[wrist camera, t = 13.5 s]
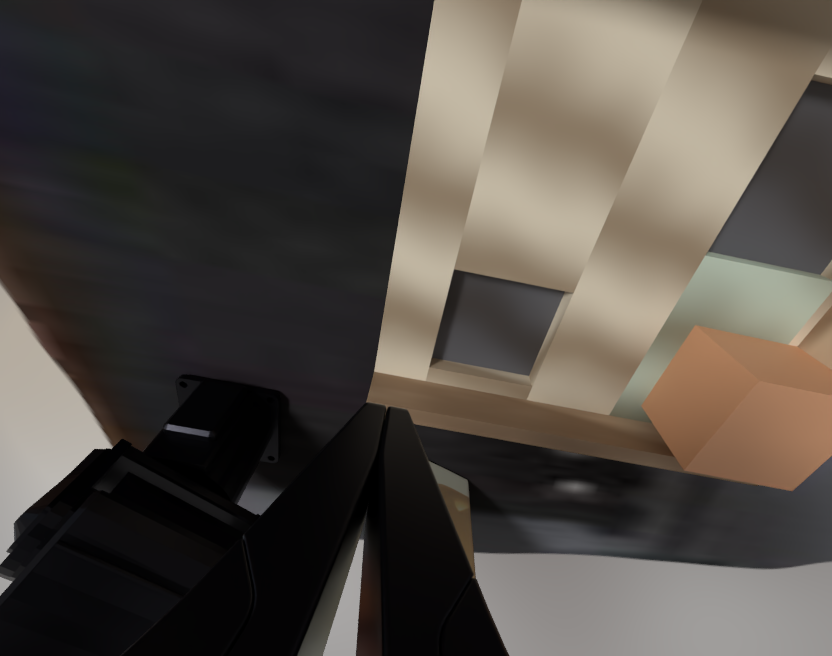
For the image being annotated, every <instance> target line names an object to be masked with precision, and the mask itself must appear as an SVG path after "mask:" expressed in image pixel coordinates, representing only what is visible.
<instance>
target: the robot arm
mask: <svg viewBox="0 0 832 656" xmlns="http://www.w3.org/2000/svg"><path fill="white" fill-rule="evenodd" d="M176 389H177V395H178V400H179V406H180V407H179V408H178V409H177V410H176V411H175V412H174V414H173V415H172V416H171V417H170V418H169V419H168V420H167V422H166V423H165V424H164V426H163V429H162V430H161V431H160V432H159V433H158V435H157V436H156V437H155V438H154V439H153V440H152V442H151V443H150V444H149V445H148V446H147V447H146V448H145V450H144V451H143V452H142V451H140V450H138V449H136V448H134V447H133V446H131V445H132V444H131V443H129V442H128V441H126V440H124V439H121V440H120V441H119V442H118V443H117V444H116V445H115V446H114V447H113V448H112V449H94V450H93V451H92V452H91V453H90V454H89V455H88V456H87V457H86V458H85V459H84V460H83V461H82V462H81V463H80V464H79V465H78V466H77V467H76V468H75V469H74V470H73V471H72V472H71V473H69V474H68V475H67V476H66V477H65V478H64V479H63V480H62V481H61V482H59V483H58V484H57V485H56V486H55V487H53V488H52V489H51V490H50V491H49V492H47V493H46V494H45V495H44V496H43V497H42V498H40V499H39V500H38V501H37V502H36V503H34V504H33V505H32V506H31V507H30V508H28V509H27V510H26V511H25V512H24V513H23V514H22V515H21V516H20V517H19V518H18V519H17V520H16V521H15V523H14V540H15V541H14V543H13V544H12V545H11V546H10V547H9V549H8V550H7V552H8V553H10V554H9V556H8V557H7V558H6V559H5V560H4V561H3V562H2V564H1V565H0V577H2V578H5V579H8V580H10V581H13V582H12V583H11V584H10V586H9V587H8V588H7V589H6V590H5V591H4V592H3V593H2V595H1V596H0V656H323V652H324V649H325V646H326V643H327V640H328V636H329V633H330V630H331V627H332V623H333V620H334V617H335V614H336V611H337V608H338V605H339V601H340V598H341V595H342V591H343V589H344V585H345V582H346V579H347V576H348V572H349V569H350V566H351V563H352V560H353V557H354V554H355V550H356V547H357V544H358V541H359V538H360V534H361V531H362V528H363V524H364V521H365V516H366V512H367V516H366V524H365V534H364V549H363V563H362V578H361V593H360V605H359V619H358V633H357V648H356V656H509V654H508V652H507V650H506V648H505V646H504V644H503V641H502V639H501V637H500V634H499V632H498V630H497V627H496V625H495V623H494V621H493V618H492V616H491V614H490V611H489V609H488V607H487V604H486V602H485V599H484V597H483V594H482V592H481V589H480V587H479V584H478V582H477V580H476V579H475V578H473V576H474V572H473V570H472V567H471V565H470V563H469V560H468V558H467V555H466V553H465V550H464V548H463V545H462V543H461V540H460V538H459V535H458V533H457V530H456V528H455V525H454V523H453V520H452V518H451V515H450V513H449V510H448V508H447V505H446V503H445V500H444V498H443V495H442V493H441V490H440V488H439V485H438V483H437V480H436V478H435V476H434V473H433V471H432V468H431V466H430V463H429V461H428V458H427V456H426V453H425V451H424V448H423V446H422V443H421V441H420V438H419V436H418V433H417V431H416V428H415V426H414V423H413V421H412V418H411V416H410V413H409V411H408V410H407V409H404V408H399V407H393V406H389V407H388V408H387V410H386V406H385V405H382V404H377V403H372V402H367V403H365V404H364V405H363V406H362V407H361V408H360V409H359V410H358V411H357V413H356V414H355V415H354V416H353V417H352V418H351V419H350V420H349V421H348V422H347V423H346V424H345V425H344V427H343V428H342V429H341V430H340V431H339V432H338V433H337V434H336V435H335V436H334V437H333V438H332V439H331V441H330V442H329V443H328V444H327V445H326V446H325V447H324V448H323V449H322V450H321V451H320V452H319V453H318V455H317V456H316V457H315V458H314V459H313V460H312V461H311V462H310V463H309V464H308V465H307V466H306V468H305V469H304V470H303V471H302V472H301V473H300V474H299V475H298V476H297V477H296V478H295V479H294V480H293V482H292V483H291V484H290V485H289V486H288V487H287V488H286V489H285V490H284V491H283V492H282V493H281V494H280V496H279V497H278V498H277V499H276V500H275V501H274V502H273V503H272V504H271V505H270V506H269V507H268V508H267V510H266V511H265V512H264V513H263V514H262V515H261V516H260V515H259V514H257V515H255V514H253V513H251V512H250V511H248V510H246V509H244V508H242V507H241V506H239V505H237V504H238V502H239V500H240V498H241V496H242V494H243V492H244V490H245V488H246V486H247V484H248V482H249V480H250V478H251V477H252V475H253V473H254V471H255V469H256V467H257V465H258V463H259V461H262V462H268V463H276V462H277V461H278V460H279V457H280V410H281V397H280V395H279V393H277V392H276V391H273V390H268V389H263V388H257V387H252V386H246V385H241V384H235V383H230V382H224V381H219V380H213V379H208V378H202V377H197V376H191V375H181V376H180V377H179V378H178V379H177V380H176ZM270 397H271V398H273V399H271V398H270ZM385 414H386V415H385ZM372 482H373V483H372ZM371 487H372V488H371ZM370 492H371V493H370ZM369 497H370V498H369ZM368 502H369V504H368ZM367 507H368V509H367Z"/></svg>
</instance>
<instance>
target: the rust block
mask: <svg viewBox="0 0 832 656" xmlns="http://www.w3.org/2000/svg"><path fill="white" fill-rule="evenodd" d="M641 406H642V408H643V409H644V411H645V412H646V414H647V416H648V417H649V419H650V420H651V422H652V423H653V425H654V426H655V428H656V429H657V431H658V432H659V434H660V435H661V437H662V438H663V440H664V441H665V443H666V444H667V446H668V447H669V449H670V450H671V452H672V453H673V455H674V456H675V458H676V459H677V461H678V462H679V464H680V465H681V467H682V468H683V470H684V471H689V472H694V473H700V474H705V475H710V476H715V477H721V478H726V479H731V480H736V481H741V482H747V483H752V484H757V485H762V486H768V487H773V488H778V489H783V490H788V491H793V490H794V489H795V488H796V487H797V486H799V485H800V484H801V483H802V482H803V481H804V480H805V479H806V478H807V477H809V476H810V475H811V474H812V473H813V472H814V471H815V470H816V469H817V468H819V467H820V466H821V465H822V464H823V463H824V462H825V461H826V460H827V459H829V458H830V457H831V456H832V370H831V369H830V368H828V367H827V366H825V365H824V364H822V363H821V362H819V361H818V360H816V359H815V358H813V357H812V356H810V355H809V354H807V353H806V352H804V351H803V350H802V349H800V348H799V347H797V346H792V345H787V344H783V343H778V342H773V341H768V340H764V339H759V338H754V337H750V336H745V335H740V334H735V333H731V332H726V331H721V330H716V329H712V328H707V327H702V326H697V325H695V326H694V327H693V329H692V330H691V332H690V333H689V335H688V336H687V338H686V339H685V341H684V342H683V344H682V345H681V347H680V348H679V350H678V351H677V353H676V354H675V356H674V357H673V359H672V360H671V362H670V363H669V365H668V366H667V368H666V369H665V371H664V372H663V374H662V375H661V377H660V378H659V380H658V381H657V383H656V384H655V386H654V387H653V389H652V390H651V392H650V393H649V395H648V396H647V398H646V399H645V401H644V402H643V404H642V405H641Z"/></svg>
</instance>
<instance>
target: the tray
mask: <svg viewBox="0 0 832 656" xmlns="http://www.w3.org/2000/svg"><path fill="white" fill-rule="evenodd" d="M695 325H697V326H702V327H707V328H712V329H716V330H721V331H726V332H731V333H735V334H740V335H745V336H750V337H754V338H759V339H764V340H768V341H773V342H778V343H783V344H787V345H792V346H797V347H799V348H800V349H802V350H803V351H804V352H806V353H807V354H809V355H810V356H812V357H813V358H815V359H816V360H818V361H819V362H821V363H822V364H824V365H825V366H827V367H828V368H830V369H831V370H832V0H435V1H434V7H433V13H432V19H431V25H430V31H429V38H428V44H427V50H426V56H425V62H424V68H423V75H422V81H421V87H420V93H419V99H418V105H417V112H416V118H415V124H414V130H413V136H412V142H411V149H410V155H409V161H408V167H407V173H406V179H405V186H404V192H403V198H402V204H401V210H400V216H399V223H398V229H397V235H396V241H395V247H394V253H393V260H392V266H391V272H390V278H389V284H388V290H387V296H386V303H385V309H384V315H383V321H382V327H381V333H380V340H379V346H378V352H377V358H376V364H375V370H374V375H373V379H372V383H371V386H370V390H369V394H368V398H367V402H372V403H377V404H382V405H385V406H386V410H387V408H388V407H389V406H393V407H399V408H404V409H407V410H408V411H409V413H410V416H411V418H412V421H413V423H414V424H418V425H423V426H429V427H434V428H440V429H445V430H451V431H456V432H462V433H467V434H473V435H478V436H484V437H489V438H495V439H501V440H506V441H512V442H517V443H523V444H528V445H534V446H539V447H545V448H550V449H556V450H561V451H567V452H572V453H578V454H583V455H589V456H594V457H600V458H605V459H611V460H616V461H622V462H627V463H633V464H638V465H644V466H649V467H655V468H660V469H666V470H672V471H677V472H683V473H688V474H694V475H699V476H705V477H710V478H716V479H721V480H727V481H732V482H738V483H743V484H749V485H754V486H757V484H752V483H747V482H741V481H736V480H731V479H726V478H721V477H715V476H710V475H705V474H700V473H694V472H689V471H684V470H683V468H682V467H681V465H680V464H679V462H678V461H677V459H676V458H675V456H674V455H673V453H672V452H671V450H670V449H669V447H668V446H667V444H666V443H665V441H664V440H663V438H662V437H661V435H660V434H659V432H658V431H657V429H656V428H655V426H654V425H653V423H652V422H651V420H650V419H649V417H648V416H647V414H646V412H645V411H644V409H643V408H642V406H641V405H642V404H643V402H644V401H645V399H646V398H647V396H648V395H649V393H650V392H651V390H652V389H653V387H654V386H655V384H656V383H657V381H658V380H659V378H660V377H661V375H662V374H663V372H664V371H665V369H666V368H667V366H668V365H669V363H670V362H671V360H672V359H673V357H674V356H675V354H676V353H677V351H678V350H679V348H680V347H681V345H682V344H683V342H684V341H685V339H686V338H687V336H688V335H689V333H690V332H691V330H692V329H693V327H694V326H695ZM385 415H386V414H385Z"/></svg>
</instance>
